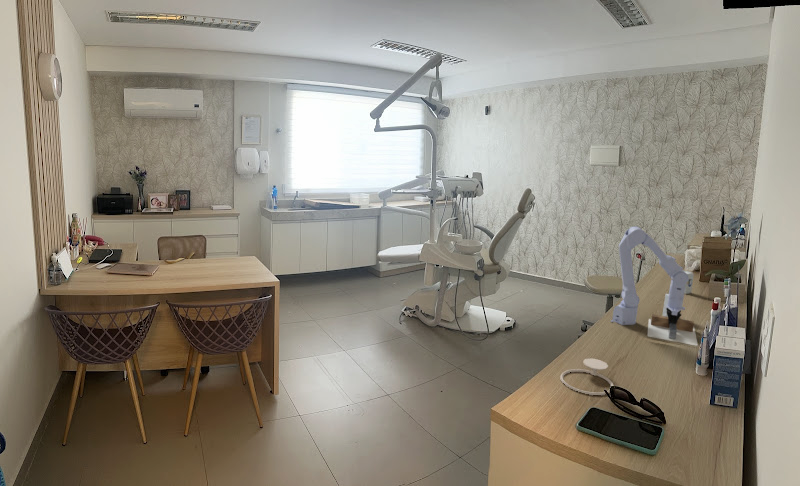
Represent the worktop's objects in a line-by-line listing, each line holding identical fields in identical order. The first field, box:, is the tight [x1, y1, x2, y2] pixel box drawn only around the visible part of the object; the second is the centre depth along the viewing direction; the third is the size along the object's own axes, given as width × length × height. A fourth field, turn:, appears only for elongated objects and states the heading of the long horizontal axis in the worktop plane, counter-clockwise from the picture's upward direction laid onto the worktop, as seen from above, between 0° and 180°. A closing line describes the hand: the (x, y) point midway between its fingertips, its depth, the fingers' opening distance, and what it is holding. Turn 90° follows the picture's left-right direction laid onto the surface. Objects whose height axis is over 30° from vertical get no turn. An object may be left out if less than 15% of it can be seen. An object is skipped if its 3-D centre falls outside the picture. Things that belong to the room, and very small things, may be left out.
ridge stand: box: [646, 318, 698, 348], centre depth 203 cm, size 24×18×5 cm
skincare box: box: [661, 293, 681, 319], centre depth 220 cm, size 6×4×12 cm
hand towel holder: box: [559, 358, 615, 396], centre depth 159 cm, size 17×4×21 cm
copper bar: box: [650, 313, 695, 332], centre depth 208 cm, size 16×3×4 cm, turn 62°
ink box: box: [683, 269, 694, 295], centre depth 265 cm, size 9×5×12 cm, turn 25°
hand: (671, 326), depth 208 cm, fingers closed on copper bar, 3 cm apart
